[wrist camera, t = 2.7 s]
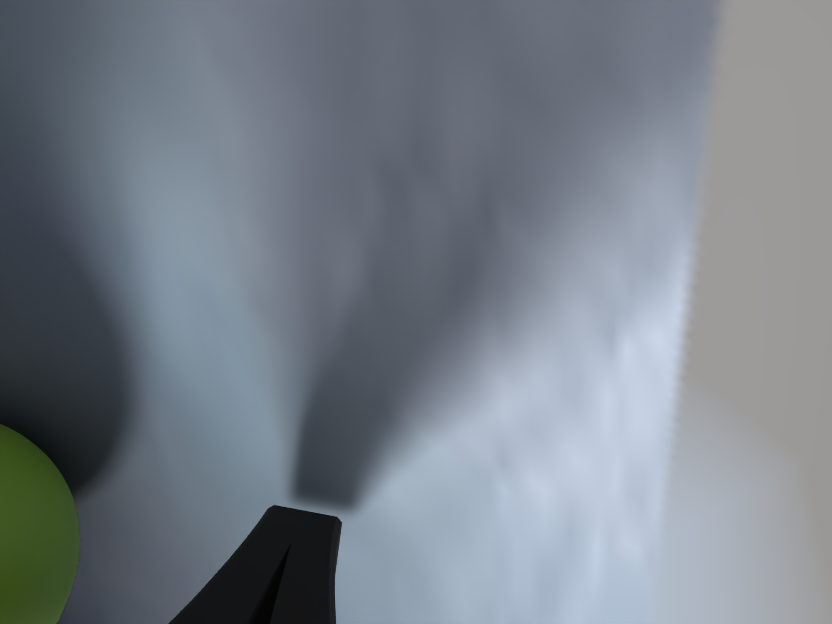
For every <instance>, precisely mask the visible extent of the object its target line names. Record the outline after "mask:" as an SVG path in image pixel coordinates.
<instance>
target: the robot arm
mask: <svg viewBox="0 0 832 624" xmlns="http://www.w3.org/2000/svg"><path fill="white" fill-rule="evenodd" d="M341 527H342V522H341V521H340V520H339V518H338V517H335V516H330V515H325V514H319V513H314V512H308V511H303V510H298V509H292V508H287V507H282V506H276V505H274V506H272V507H270V508H268V509H267V511H266V512H265V514H264V515H263V517H262V518H261V519H260V521H259V522H258V523H257V525H256V526H255V527H254V529H253V530H252V531H251V533H250V534H249V535H248V536H247V538H246V539H245V540H244V541H243V543H242V544H241V545H240V546H239V548H238V549H237V550H236V551H235V552H234V554H233V555H232V556H231V557H230V558H229V560H228V561H227V562H226V563H225V564H224V565H223V566H222V567H221V569H220V570H219V571H218V572H217V573H216V574H215V575H214V576H213V578H212V579H211V580H210V581H209V582H208V583H207V584H206V585H205V586H204V588H203V589H202V590H201V591H200V592H199V593H198V594H197V595H196V596H195V597H194V598H193V599H192V601H191V602H190V603H189V604H188V605H187V606H186V607H185V608H184V609H183V610H182V611H181V612H180V613H179V614H178V615H177V616H176V617H175V618H174V619H173V620H172V621H171V622H170V623H169V624H336V612H335V572H336V564H337V557H338V549H339V542H340V534H341Z"/></svg>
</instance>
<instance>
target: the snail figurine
mask: <svg viewBox="0 0 832 624" xmlns="http://www.w3.org/2000/svg"><path fill="white" fill-rule="evenodd" d="M79 553H80V527H79V519H78V514H77V510H76V506H75V503H74V499H73V497H72V494H71V492H70V489H69V487H68V485H67V483H66V481H65V479H64V478H63V476H62V474H61V473H60V471H59V470H58V469H57V467H56V466H55V465H54V463H53V462H52V461H51V460H50V459H49V457H48V456H47V455H46V454H45V453H44V452H43V451H42V450H41V449H39V448H38V447H37V446H36V445H35V444H33V443H32V442H31V441H29V440H28V439H27V438H25V437H24V436H22V435H21V434H19V433H17V432H16V431H14V430H12V429H10V428H8V427H6V426H4V425H2V424H0V624H56V623H57V622H58V620H59V618H60V616H61V614H62V612H63V610H64V608H65V606H66V603H67V601H68V598H69V596H70V593H71V590H72V587H73V584H74V580H75V577H76V572H77V567H78V562H79Z"/></svg>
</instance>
